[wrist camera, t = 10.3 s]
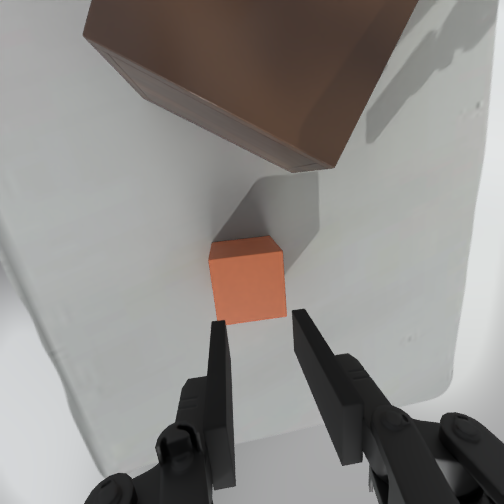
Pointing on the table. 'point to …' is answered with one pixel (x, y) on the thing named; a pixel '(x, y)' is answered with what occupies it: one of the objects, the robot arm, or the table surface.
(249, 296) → the block
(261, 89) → the cabinet
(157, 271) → the table surface
